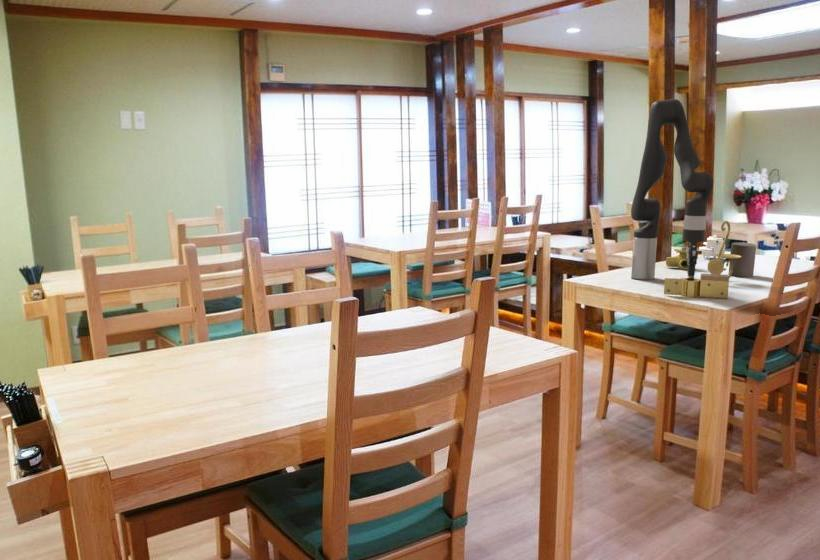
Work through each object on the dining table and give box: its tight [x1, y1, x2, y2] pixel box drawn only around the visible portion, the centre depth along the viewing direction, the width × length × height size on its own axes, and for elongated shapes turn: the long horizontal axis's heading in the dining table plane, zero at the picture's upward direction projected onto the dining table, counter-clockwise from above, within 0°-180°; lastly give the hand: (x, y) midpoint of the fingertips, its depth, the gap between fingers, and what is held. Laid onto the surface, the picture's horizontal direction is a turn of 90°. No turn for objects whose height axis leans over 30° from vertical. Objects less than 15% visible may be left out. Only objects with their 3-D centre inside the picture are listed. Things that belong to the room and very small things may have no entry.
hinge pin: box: [687, 253, 695, 281], centre depth 246 cm, size 4×4×12 cm
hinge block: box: [663, 273, 730, 300], centre depth 247 cm, size 22×7×8 cm, turn 72°
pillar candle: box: [727, 240, 757, 278], centre depth 286 cm, size 10×10×15 cm
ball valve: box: [665, 246, 688, 270], centre depth 306 cm, size 13×10×10 cm
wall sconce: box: [707, 220, 741, 279], centre depth 271 cm, size 14×10×25 cm
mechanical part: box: [698, 234, 726, 260], centre depth 331 cm, size 11×12×12 cm
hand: (690, 274), depth 247 cm, fingers closed on hinge pin, 2 cm apart
